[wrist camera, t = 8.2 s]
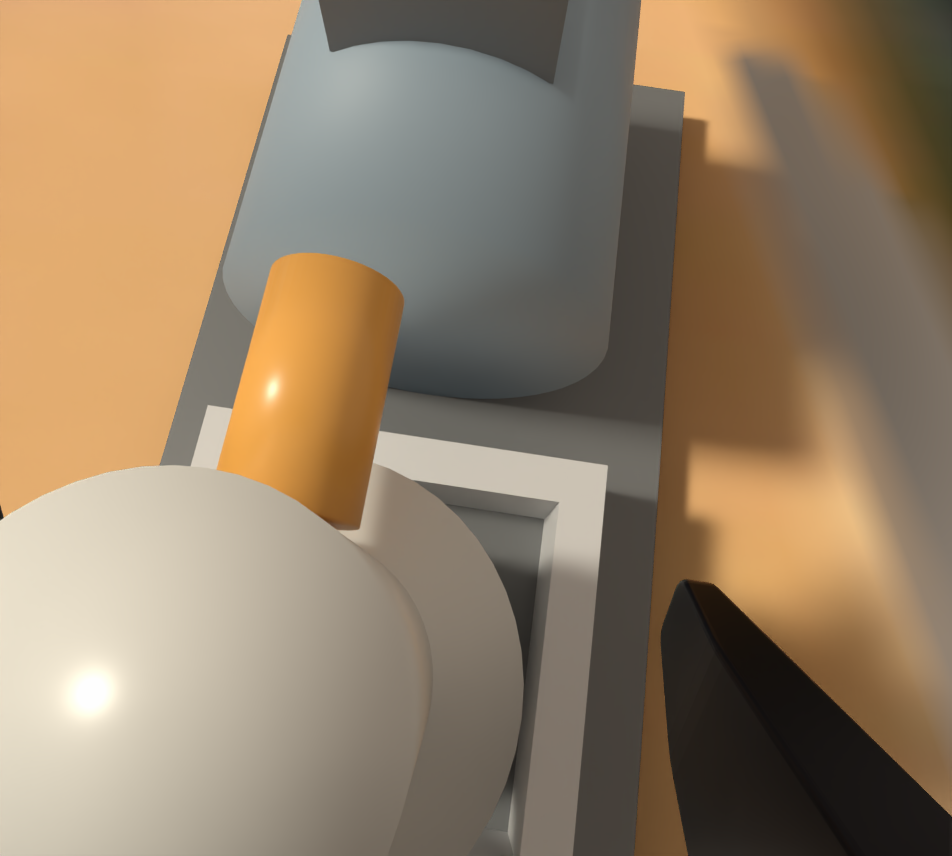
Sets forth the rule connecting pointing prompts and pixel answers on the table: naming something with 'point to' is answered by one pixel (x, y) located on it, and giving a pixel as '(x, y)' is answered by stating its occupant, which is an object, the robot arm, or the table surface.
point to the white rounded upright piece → (260, 626)
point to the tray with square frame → (493, 332)
